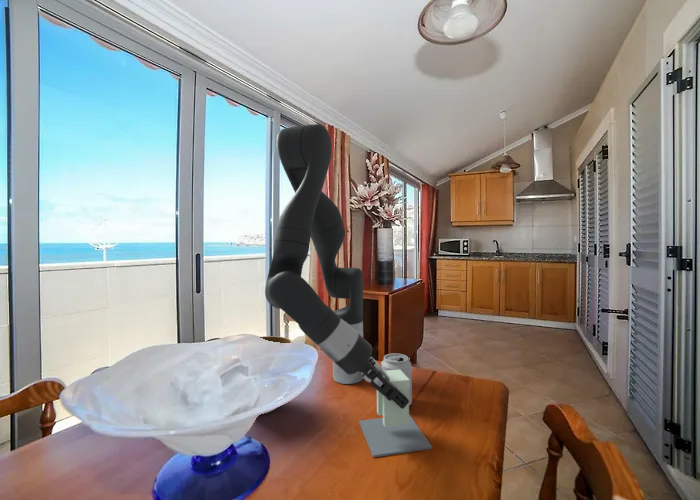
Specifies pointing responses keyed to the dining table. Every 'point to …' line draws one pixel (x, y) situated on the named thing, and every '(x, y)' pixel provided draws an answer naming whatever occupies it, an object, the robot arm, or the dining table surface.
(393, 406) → the pale green upright block
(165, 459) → the dining table surface
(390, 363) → the can
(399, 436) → the mat
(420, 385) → the dining table surface
